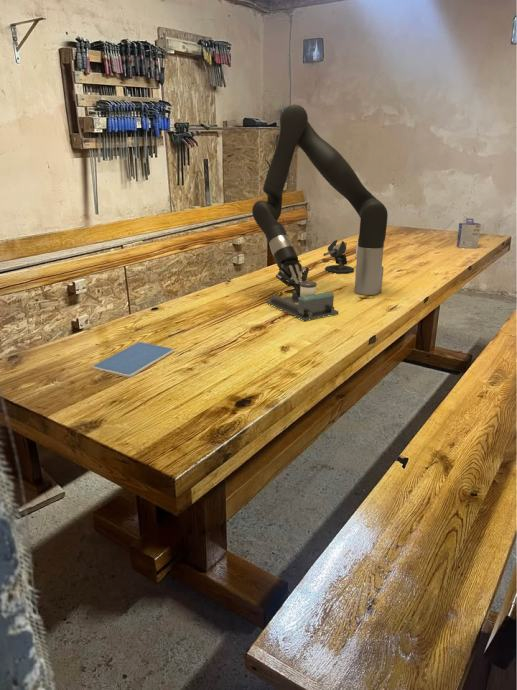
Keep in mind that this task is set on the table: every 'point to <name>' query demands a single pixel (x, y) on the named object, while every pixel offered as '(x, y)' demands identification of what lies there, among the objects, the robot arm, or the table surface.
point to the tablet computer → (133, 359)
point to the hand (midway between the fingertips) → (302, 295)
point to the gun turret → (338, 259)
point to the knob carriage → (307, 288)
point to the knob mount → (306, 305)
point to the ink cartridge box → (468, 234)
